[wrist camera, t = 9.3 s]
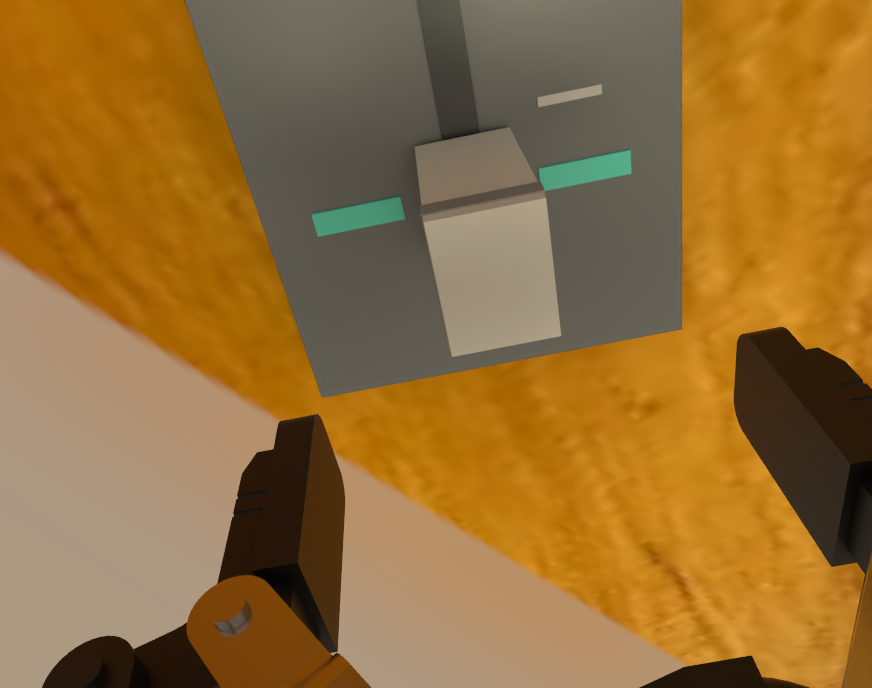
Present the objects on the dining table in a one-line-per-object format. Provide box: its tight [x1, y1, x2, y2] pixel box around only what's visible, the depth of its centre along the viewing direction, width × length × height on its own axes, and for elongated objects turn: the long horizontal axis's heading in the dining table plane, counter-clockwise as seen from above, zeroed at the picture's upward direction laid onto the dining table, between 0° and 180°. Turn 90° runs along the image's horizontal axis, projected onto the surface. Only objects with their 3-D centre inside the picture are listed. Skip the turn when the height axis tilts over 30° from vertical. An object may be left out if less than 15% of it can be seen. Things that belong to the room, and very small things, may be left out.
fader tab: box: [415, 127, 561, 357], centre depth 21 cm, size 4×3×6 cm
